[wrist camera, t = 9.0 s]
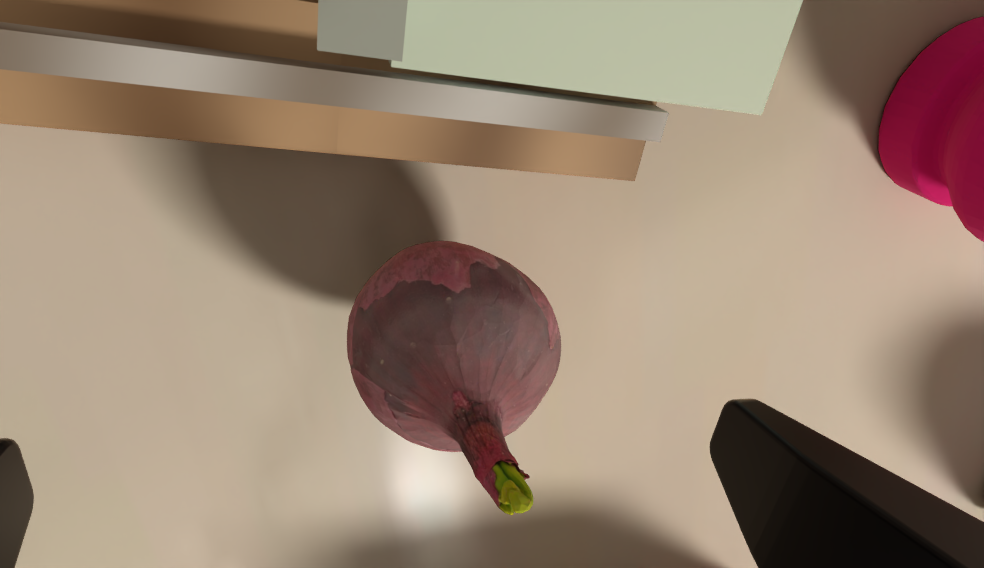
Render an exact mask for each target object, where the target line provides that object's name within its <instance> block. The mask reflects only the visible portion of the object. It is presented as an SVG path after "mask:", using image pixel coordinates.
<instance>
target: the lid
mask: <svg viewBox="0 0 984 568" xmlns="http://www.w3.org/2000/svg"><path fill="white" fill-rule="evenodd" d="M802 2H803V0H318V31H317V50H318V51H326V52H333V53H341V54H348V55H356V56H363V57H371V58H378V59H386V60H389V63H390V66H391V67H395V68H402V69H410V70H418V71H425V72H433V73H441V74H448V75H456V76H464V77H472V78H479V79H487V80H495V81H502V82H510V83H518V84H525V85H533V86H541V87H548V88H556V89H564V90H571V91H579V92H587V93H595V94H602V95H610V96H618V97H625V98H633V99H641V100H648V101H656V102H664V103H671V104H679V105H687V106H694V107H702V108H710V109H718V110H725V111H733V112H741V113H748V114H756V115H762V113H763V110H764V108H765V105H766V102H767V99H768V97H769V94H770V91H771V88H772V85H773V83H774V80H775V77H776V74H777V72H778V69H779V66H780V63H781V60H782V58H783V55H784V52H785V49H786V47H787V44H788V41H789V38H790V35H791V33H792V30H793V27H794V24H795V22H796V19H797V16H798V13H799V10H800V8H801V5H802Z"/></svg>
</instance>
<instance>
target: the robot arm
mask: <svg viewBox="0 0 984 568" xmlns="http://www.w3.org/2000/svg"><path fill="white" fill-rule="evenodd" d="M710 454H711V458H712V461H713V464H714V466H715V468H716V471H717V473H718V476H719V478H720V481H721V483H722V485H723V488H724V490H725V493H726V495H727V497H728V500H729V502H730V505H731V507H732V509H733V512H734V514H735V517H736V519H737V521H738V524H739V526H740V529H741V531H742V534H743V536H744V538H745V541H746V543H747V545H748V547H749V550H750V552H751V554H752V556H753V558H754V560H755V562H756V564H757V566H758V568H984V522H983V521H981V520H979V519H977V518H975V517H973V516H971V515H970V514H968V513H966V512H964V511H962V510H960V509H958V508H957V507H955V506H953V505H951V504H949V503H947V502H946V501H944V500H942V499H940V498H938V497H936V496H934V495H933V494H931V493H929V492H927V491H925V490H923V489H921V488H920V487H918V486H916V485H914V484H912V483H910V482H909V481H907V480H905V479H903V478H901V477H899V476H897V475H896V474H894V473H892V472H890V471H888V470H886V469H884V468H883V467H881V466H879V465H877V464H875V463H873V462H872V461H870V460H868V459H866V458H864V457H862V456H860V455H859V454H857V453H855V452H853V451H851V450H849V449H847V448H846V447H844V446H842V445H840V444H838V443H836V442H835V441H833V440H831V439H829V438H827V437H825V436H823V435H822V434H820V433H818V432H816V431H814V430H812V429H810V428H809V427H807V426H805V425H803V424H801V423H799V422H798V421H796V420H794V419H792V418H790V417H788V416H786V415H785V414H783V413H781V412H779V411H777V410H775V409H773V408H772V407H770V406H768V405H766V404H764V403H762V402H761V401H758V400H756V399H736V400H730V401H728V402H727V403H726V404H725V405H724V407H723V409H722V412H721V414H720V417H719V420H718V422H717V425H716V428H715V430H714V433H713V435H712V438H711V441H710ZM33 502H34V495H33V489H32V485H31V482H30V479H29V476H28V473H27V470H26V467H25V463H24V460H23V457H22V454H21V451H20V448H19V446H18V444H17V443H16V442H15V441H14V440H12V439H8V438H1V439H0V568H15V564H16V561H17V558H18V555H19V552H20V549H21V545H22V542H23V539H24V536H25V533H26V529H27V526H28V523H29V520H30V517H31V513H32V509H33Z"/></svg>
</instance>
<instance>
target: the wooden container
mask: <svg viewBox="0 0 984 568" xmlns="http://www.w3.org/2000/svg"><path fill="white" fill-rule="evenodd" d="M317 31H318V0H0V123H2V124H13V125H24V126H35V127H46V128H57V129H68V130H79V131H90V132H101V133H112V134H123V135H134V136H145V137H156V138H167V139H178V140H189V141H200V142H211V143H222V144H233V145H244V146H255V147H266V148H277V149H288V150H299V151H310V152H321V153H332V154H343V155H354V156H365V157H376V158H387V159H398V160H409V161H420V162H431V163H442V164H453V165H464V166H475V167H486V168H497V169H508V170H519V171H530V172H541V173H552V174H563V175H574V176H585V177H596V178H607V179H618V180H629V181H635V178H636V174H637V171H638V167H639V164H640V160H641V157H642V153H643V149H644V146H645V142H646V141H653V142H661V138H662V135H663V132H664V128H665V125H666V121H667V118H668V114H669V113H668V112H666V111H664V110H663V109H661V108H659V107H657V106H656V103H657V102H656V101H648V100H641V99H633V98H625V97H618V96H610V95H602V94H595V93H587V92H579V91H571V90H564V89H556V88H548V87H541V86H533V85H525V84H518V83H510V82H502V81H495V80H487V79H479V78H472V77H464V76H456V75H448V74H441V73H433V72H425V71H418V70H410V69H402V68H395V67H391V66H390V63H389V60H386V59H378V58H371V57H363V56H356V55H348V54H341V53H333V52H326V51H318V50H317Z"/></svg>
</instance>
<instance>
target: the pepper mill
mask: <svg viewBox="0 0 984 568" xmlns="http://www.w3.org/2000/svg"><path fill="white" fill-rule="evenodd" d="M879 154H880V158H881V162H882V164H883V167H884V169H885V171H886V173H887V174H888V175H889V177H890V178H891V179H892V180H893V181H894V183H896V184H897V185H899V186H900V187H902V188H904V189H907V190H909V191H911V192H913V193H915V194H917V195H920V196H922V197H924V198H926V199H928V200H930V201H933V202H935V203H937V204H940V205H945V206H953V208H954V210H955V212H956V214H957V215H958V217H959V218H960V220H961V222H962V223H963V225H964V226H965V228H966V229H967V230H968V231H970V232H971V233H972V234H973V235H974V236H975V237H977V238H978V239H980V240H981V241H983V242H984V17H979V18H975V19H972V20H970V21H967V22H964V23H962V24H959V25H958V26H956V27H954V28H953V29H951V30H949V31H948V32H946V33H945V34H943V35H941V36H940V37H938V38H937V39H936V40H935V41H934V42H932V43H931V44H930V45H929V46H928V47H927V48H925V49H924V50H923V51H922V52H921V53H920V54H919V55H918V56H917V58H916V59H915V60H914V61H913V62H912V64H911V65H910V66H909V67H908V68H907V70H906V71H905V72H904V73H903V75H902V76H901V77H900V79H899V81H898V82H897V84H896V86H895V88H894V90H893V92H892V94H891V96H890V98H889V100H888V101H887V103H886V105H885V109H884V113H883V117H882V120H881V124H880V128H879Z"/></svg>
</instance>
